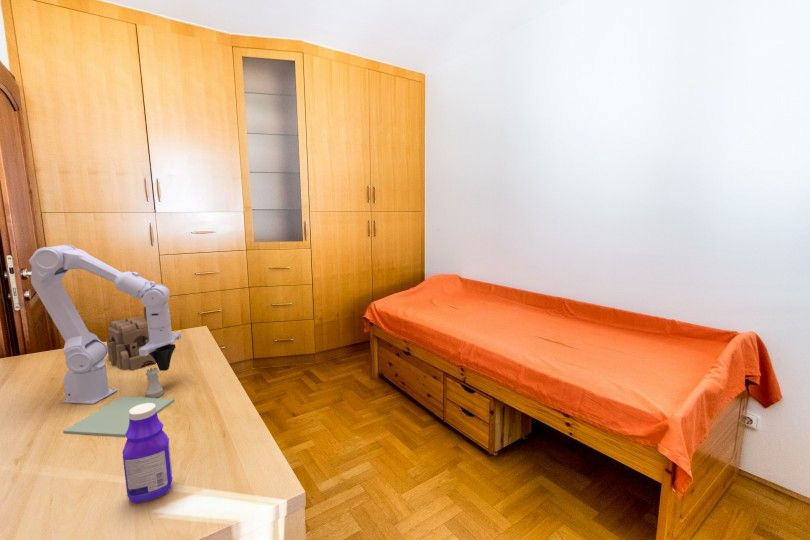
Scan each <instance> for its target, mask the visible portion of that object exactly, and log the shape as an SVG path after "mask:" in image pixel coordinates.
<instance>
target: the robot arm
mask: <svg viewBox="0 0 810 540" xmlns="http://www.w3.org/2000/svg"><path fill="white" fill-rule="evenodd" d="M28 262H29V265H31V271H30V273H31V274H30V283H31V285H32V287H33V289H34V291H35V292H36V294H37V295H38V297H39V299H40V300H41V302H42V304H43V306H44V308H45V309H46V311H47V313H48V315H49V316H50V318H51V319H52V322H53V323H54V325H55V326H56V329H57V330H58V331H59V333H60V335H61V337H62V338H63V340H64V346H63V350H62V352H63V355H64V356H65V365H66V368H67V369H68V370H67V371H66V372H65V374H64V375H63V379H62V380H63V388H64V393H65V399H64V400H63V401H62V402H63V403H64V404H65V403H66V404H67V403H68V404H70V403H71V404H87V405H90V404H91V405H93V404H97V403H98V402H100V401H101V400H103V399H105V398H107V397H109V396H110V395H112V394H114V393H116V392H118V389H117V388H110V387H109V380H108V374H107V373H108V372H107V366H106V362H105V357H106V356H108V348H107V343H105V342H103V341H101V339H99V337H98V335H96V334H95V333H93V332H90V331H89V329H88V327H87V326H86V324H85V322H84V321H83V318H82V317H81V315H80V314H79V312H78V310H77V308H76V307H75V306H76V305H74V303H73V301H72V300H71V298H70V295H69V294H68V291H67V290H66V289H65V287H64V285H63V284H62V282H61V281H62V280H63V278H64V276H65V275H66V274H67V273H68V271H69V270H83V271H86V272H89V273H91V274H93V275H96V276H98V277H100V278H102V279H105V280H107V281H109V282H112V283H113V284H114V286H115V289H116V290H118V291H120V292H123V293H125V294H126V295H129V296H132V297H133V298H135V299H137V300H140V302H141V303H142V305H144V307H146V315H147V324H148V333H149V342H148V343H147V344H146V345H145V346H143V347H142V348H140V349H139V355H140V356H147V355H149V354H150V355H151V356H152V357H153V358H154V360H155V361H156V363H157V364H156V366H157V367H158V368H157V369H158V371H159V372H160V371H161V372H167V371H168V370H169V369H170V365H171V359H172V356H173V353H174V351H175V349H176V344H174V343H176V341H177V340H181V339H182V333H181V332H172V321H171V313H170V312H171V311H170V305H169V299H170V298H171V291H170V288H169V287H167V286H165V284H162V283H156V282H155V281H153V280H151V281H150V280H149V279H147V278H145V277H142V276H140V273H139V272H137V271H133V272H132V271H124V272H123V271H119V270H118V269H116V268H115V267H113V266H111V265H109V264H107V263H105V262H103V261H102V260H100V259H98V258H96V257H95V256H93V255H91V254H89V253H88V252H86V251H85V250H83V249H81V248H76V246H74V245H72V244H67V243H66V244H64V243H63V244H59V245H53V246H44V247H40V248H38V249H36V250H35V252H33V254H32V256H31V257H30V258H29V259H28Z"/></svg>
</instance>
